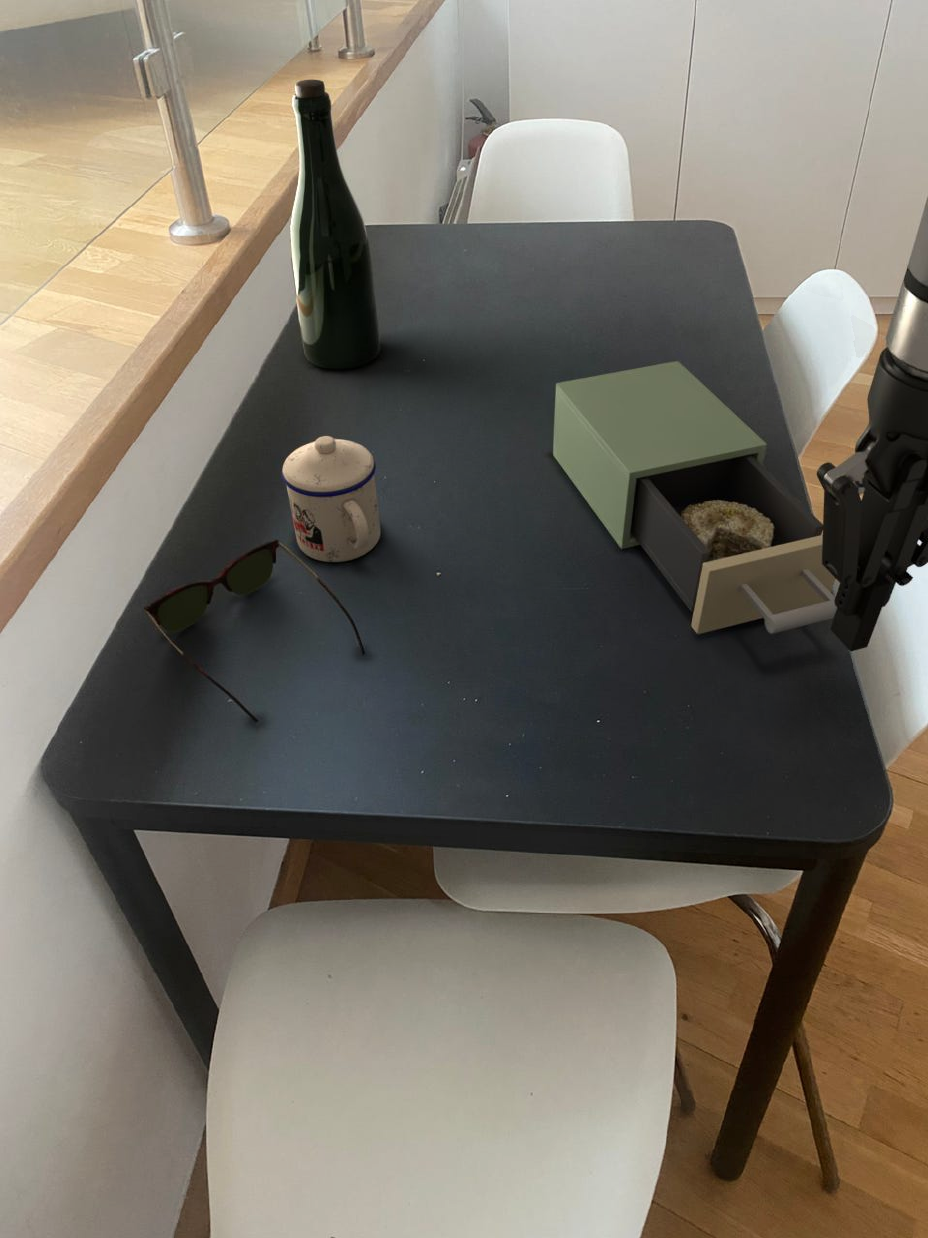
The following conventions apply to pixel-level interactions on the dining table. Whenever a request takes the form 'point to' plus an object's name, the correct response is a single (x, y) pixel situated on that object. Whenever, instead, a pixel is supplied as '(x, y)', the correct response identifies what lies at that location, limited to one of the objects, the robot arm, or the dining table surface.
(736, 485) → the pull-out drawer
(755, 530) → the cake
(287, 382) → the dining table surface
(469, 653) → the dining table surface
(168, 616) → the sunglasses
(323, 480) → the teacup with lid
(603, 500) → the green drawer box
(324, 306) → the green wine bottle
